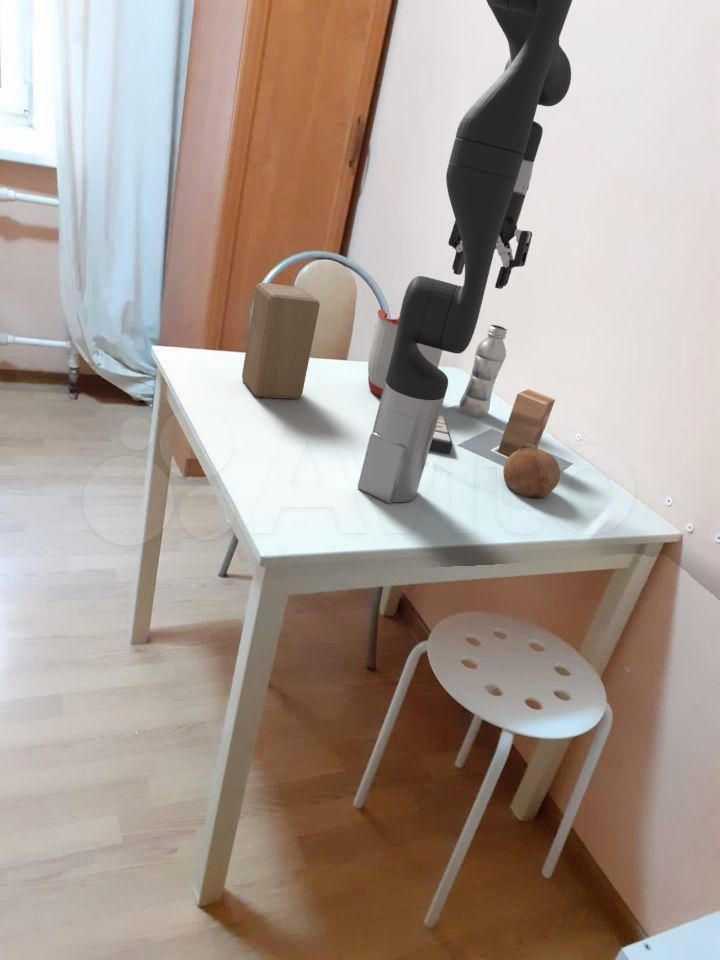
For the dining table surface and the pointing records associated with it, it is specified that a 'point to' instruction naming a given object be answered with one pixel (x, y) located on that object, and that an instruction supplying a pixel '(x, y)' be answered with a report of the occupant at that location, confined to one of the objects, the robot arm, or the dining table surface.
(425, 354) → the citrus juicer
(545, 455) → the onion
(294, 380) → the wooden block
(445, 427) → the calculator
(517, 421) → the terracotta block
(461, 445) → the grey flat plate
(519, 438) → the walnut block
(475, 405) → the plastic bottle
